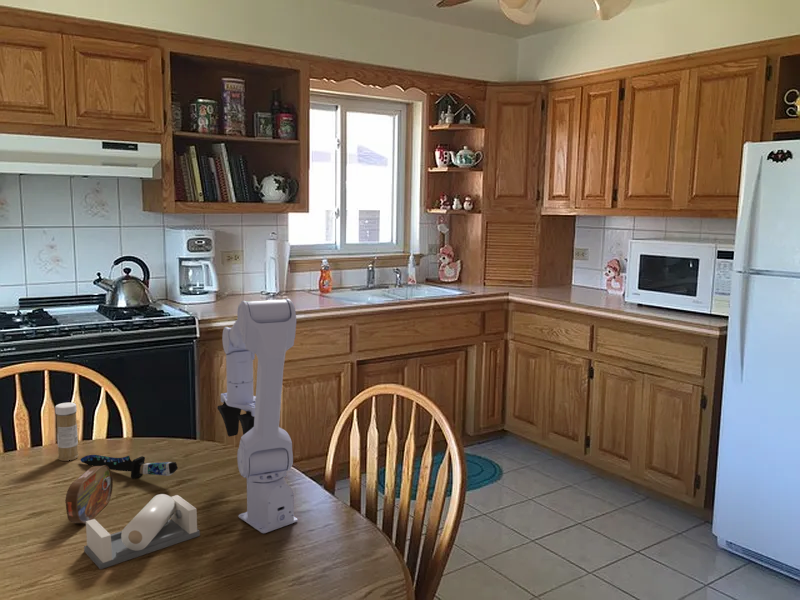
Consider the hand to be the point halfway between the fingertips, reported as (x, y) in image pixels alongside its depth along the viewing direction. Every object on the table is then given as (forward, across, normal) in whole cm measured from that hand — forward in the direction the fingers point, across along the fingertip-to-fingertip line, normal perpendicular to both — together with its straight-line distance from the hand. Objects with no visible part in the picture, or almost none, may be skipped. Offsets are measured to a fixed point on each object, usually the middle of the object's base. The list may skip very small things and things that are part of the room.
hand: (241, 439), depth 151 cm
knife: (+10, +20, +18) cm, 29 cm away
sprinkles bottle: (+10, +39, +25) cm, 47 cm away
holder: (+9, -14, +28) cm, 33 cm away
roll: (+5, -15, +27) cm, 31 cm away
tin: (+10, +5, +31) cm, 33 cm away
